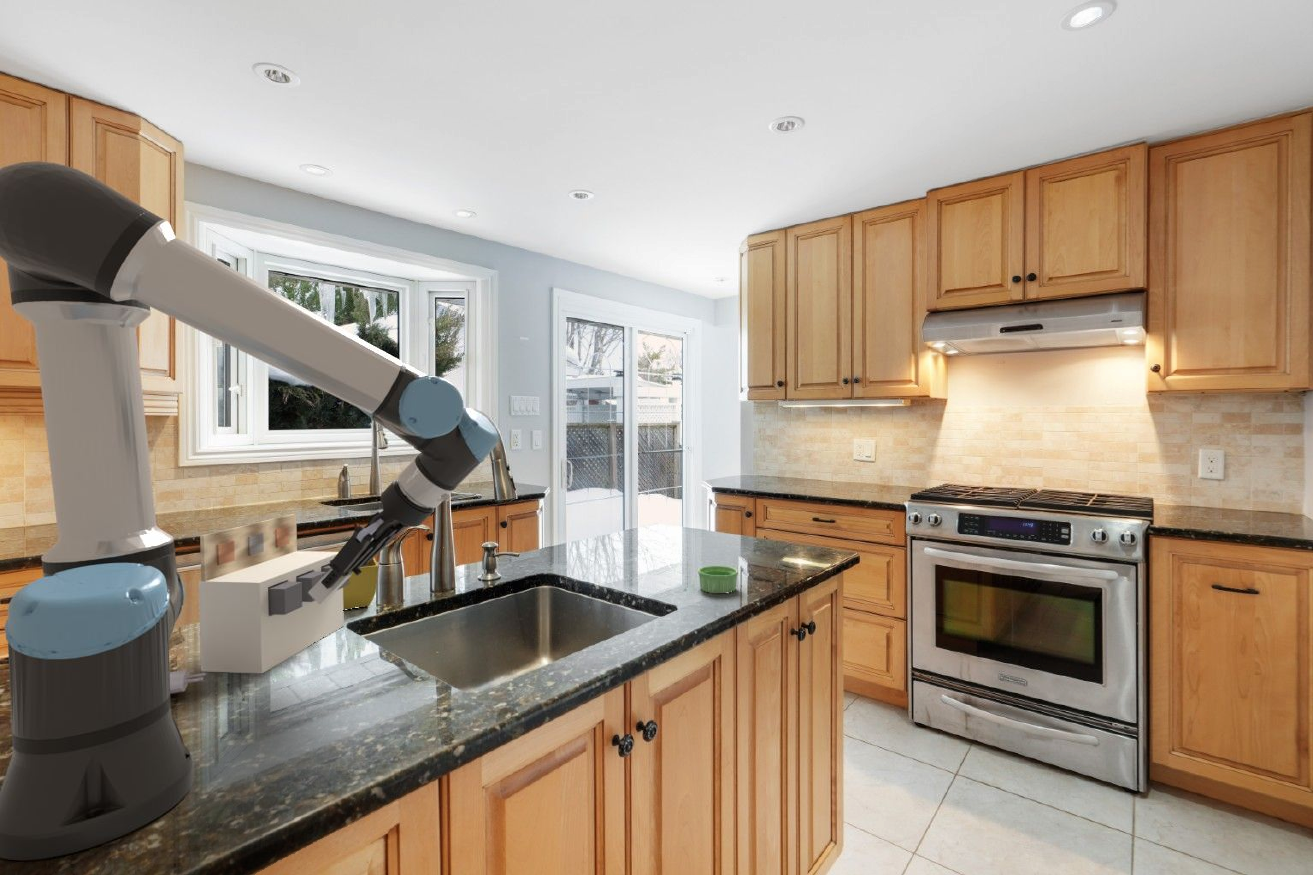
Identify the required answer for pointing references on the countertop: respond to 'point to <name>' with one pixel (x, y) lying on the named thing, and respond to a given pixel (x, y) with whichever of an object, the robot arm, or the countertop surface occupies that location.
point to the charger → (182, 680)
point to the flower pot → (361, 587)
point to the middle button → (309, 583)
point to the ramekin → (718, 579)
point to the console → (262, 616)
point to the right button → (327, 568)
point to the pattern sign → (247, 546)
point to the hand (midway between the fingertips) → (316, 597)
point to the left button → (284, 597)
